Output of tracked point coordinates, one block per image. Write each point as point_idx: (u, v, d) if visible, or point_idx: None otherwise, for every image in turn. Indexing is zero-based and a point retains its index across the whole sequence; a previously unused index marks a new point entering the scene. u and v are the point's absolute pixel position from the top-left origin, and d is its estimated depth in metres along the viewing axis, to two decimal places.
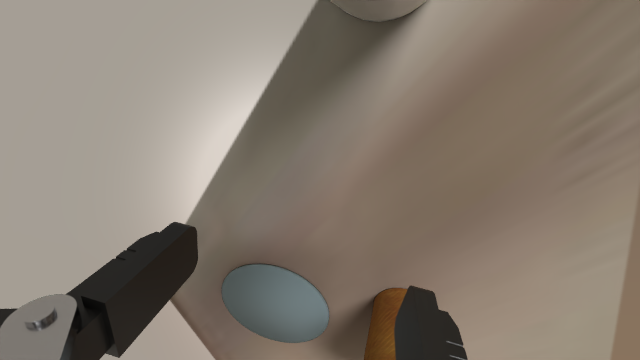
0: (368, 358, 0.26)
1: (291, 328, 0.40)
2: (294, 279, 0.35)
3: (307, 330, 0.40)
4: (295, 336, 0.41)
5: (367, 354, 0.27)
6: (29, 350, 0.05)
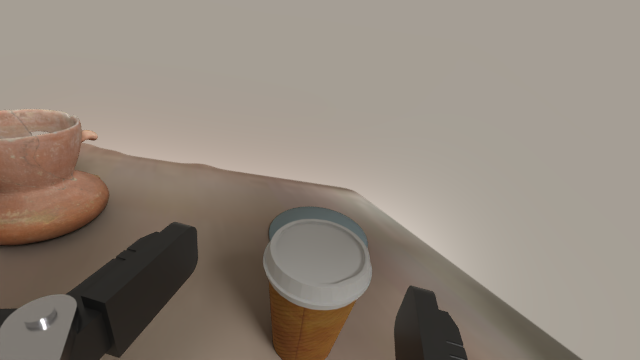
0: None
1: None
2: None
3: None
4: None
5: None
6: (30, 349, 0.05)
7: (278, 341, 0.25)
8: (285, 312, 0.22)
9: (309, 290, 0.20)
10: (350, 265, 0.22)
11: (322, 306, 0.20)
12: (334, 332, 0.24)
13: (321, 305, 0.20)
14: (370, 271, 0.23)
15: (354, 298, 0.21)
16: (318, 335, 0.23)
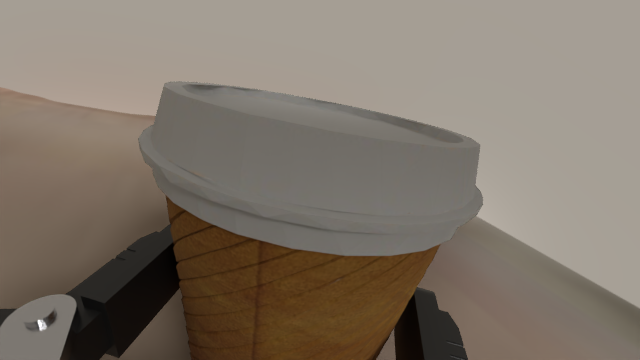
0: None
1: None
2: None
3: None
4: None
5: None
6: (29, 349, 0.05)
7: None
8: (201, 284, 0.06)
9: (280, 147, 0.04)
10: None
11: (338, 224, 0.04)
12: None
13: (333, 218, 0.04)
14: None
15: (459, 217, 0.05)
16: None
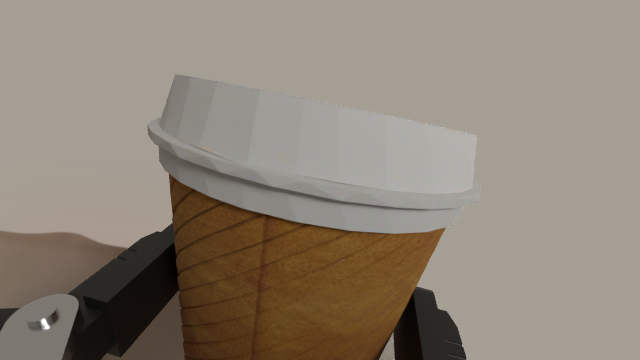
0: None
1: None
2: None
3: None
4: None
5: None
6: (31, 349, 0.05)
7: None
8: (203, 269, 0.06)
9: (289, 121, 0.04)
10: None
11: (344, 194, 0.04)
12: None
13: (340, 188, 0.04)
14: None
15: (460, 198, 0.05)
16: None
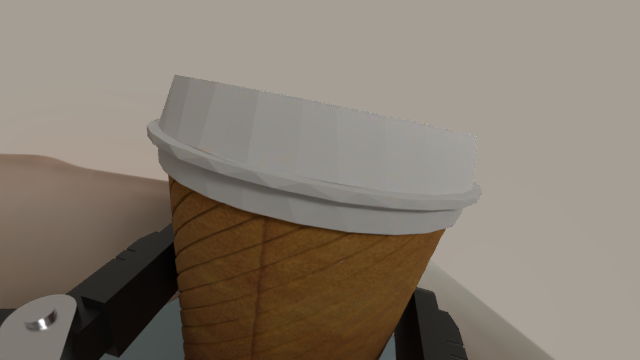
0: None
1: None
2: None
3: None
4: None
5: None
6: (29, 349, 0.05)
7: None
8: (202, 270, 0.06)
9: (288, 122, 0.04)
10: None
11: (343, 195, 0.04)
12: None
13: (339, 190, 0.04)
14: None
15: (460, 199, 0.05)
16: None
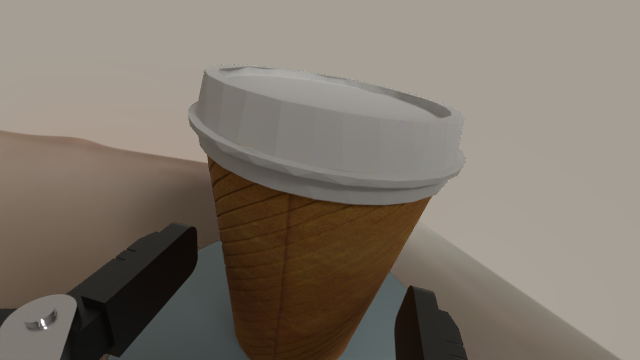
0: None
1: (196, 330, 0.13)
2: None
3: None
4: (156, 323, 0.13)
5: None
6: (30, 349, 0.05)
7: (238, 317, 0.11)
8: (242, 229, 0.08)
9: (305, 125, 0.06)
10: (413, 117, 0.09)
11: (347, 180, 0.06)
12: (365, 294, 0.10)
13: (344, 176, 0.06)
14: None
15: (440, 176, 0.07)
16: (328, 297, 0.09)
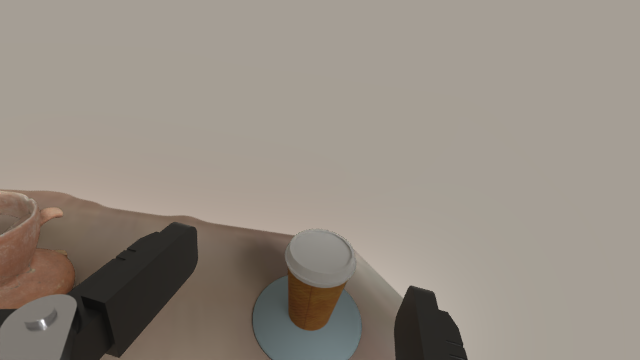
0: None
1: (276, 316, 0.39)
2: (343, 354, 0.35)
3: (269, 331, 0.37)
4: (263, 313, 0.39)
5: None
6: (29, 349, 0.05)
7: (293, 311, 0.37)
8: (299, 289, 0.34)
9: (315, 275, 0.32)
10: (341, 260, 0.34)
11: (323, 285, 0.32)
12: (330, 305, 0.36)
13: (322, 284, 0.32)
14: (355, 265, 0.35)
15: (343, 281, 0.33)
16: (320, 306, 0.35)
